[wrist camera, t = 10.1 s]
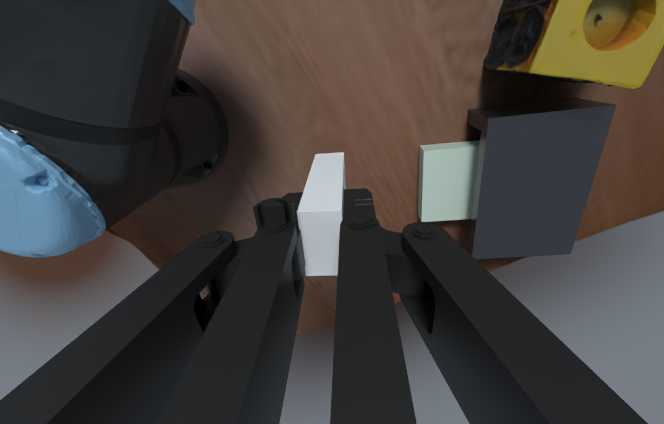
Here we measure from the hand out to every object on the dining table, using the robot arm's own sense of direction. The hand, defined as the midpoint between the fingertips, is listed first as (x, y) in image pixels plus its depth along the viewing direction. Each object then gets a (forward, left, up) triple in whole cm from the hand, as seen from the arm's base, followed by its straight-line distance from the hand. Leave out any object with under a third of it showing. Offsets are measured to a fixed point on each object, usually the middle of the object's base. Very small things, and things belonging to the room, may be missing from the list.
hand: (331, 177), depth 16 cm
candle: (+22, +7, -24) cm, 33 cm away
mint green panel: (+16, -10, -24) cm, 31 cm away
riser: (+21, -10, -23) cm, 33 cm away
